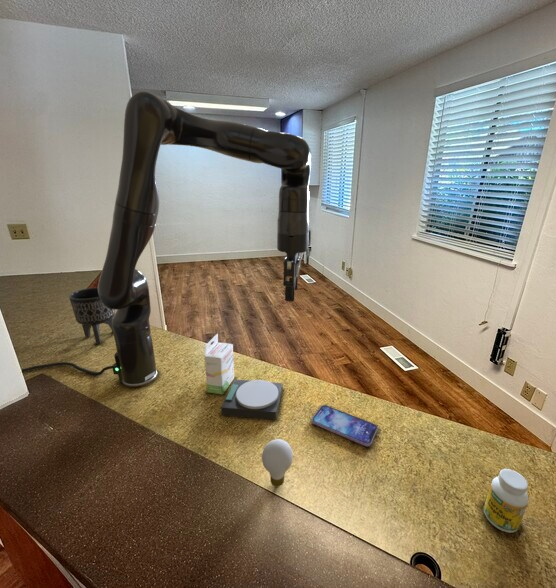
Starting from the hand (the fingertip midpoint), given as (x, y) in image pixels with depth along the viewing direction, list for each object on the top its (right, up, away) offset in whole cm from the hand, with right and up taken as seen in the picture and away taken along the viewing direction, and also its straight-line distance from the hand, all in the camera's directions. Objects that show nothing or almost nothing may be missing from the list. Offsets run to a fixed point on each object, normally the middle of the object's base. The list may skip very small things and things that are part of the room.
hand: (291, 294), depth 78 cm
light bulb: (-3, -38, -18) cm, 41 cm away
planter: (-72, -16, +36) cm, 83 cm away
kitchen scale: (-10, -29, +5) cm, 31 cm away
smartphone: (+13, -33, -3) cm, 35 cm away
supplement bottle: (+38, -41, -23) cm, 60 cm away
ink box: (-21, -27, +11) cm, 36 cm away
